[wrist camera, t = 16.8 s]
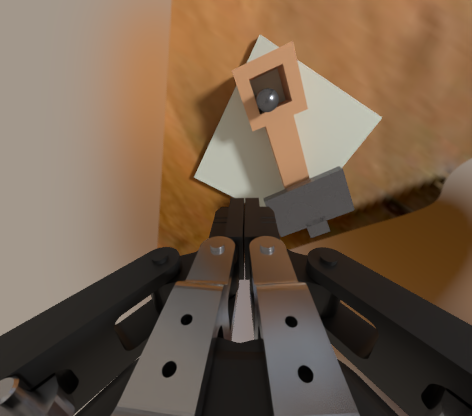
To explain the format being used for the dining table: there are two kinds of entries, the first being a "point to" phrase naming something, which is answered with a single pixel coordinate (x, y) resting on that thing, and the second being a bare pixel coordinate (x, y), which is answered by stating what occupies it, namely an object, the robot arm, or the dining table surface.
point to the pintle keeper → (306, 192)
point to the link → (278, 110)
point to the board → (308, 126)
